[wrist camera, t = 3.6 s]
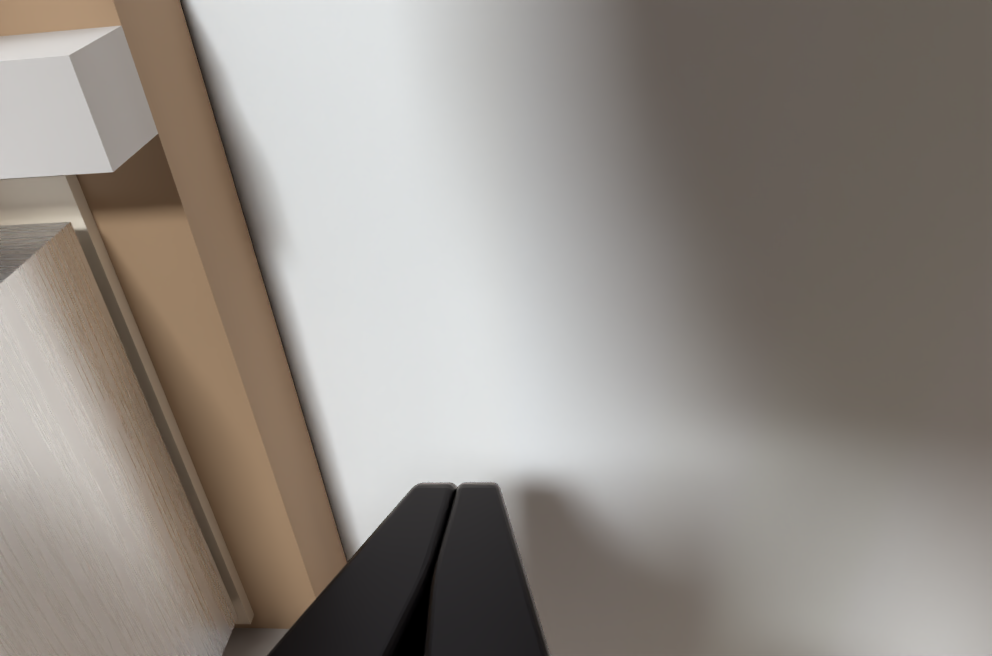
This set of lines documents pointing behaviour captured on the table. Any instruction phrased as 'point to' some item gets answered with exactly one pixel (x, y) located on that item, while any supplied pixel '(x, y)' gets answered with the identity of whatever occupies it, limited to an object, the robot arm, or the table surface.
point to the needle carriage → (88, 478)
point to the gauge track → (171, 280)
